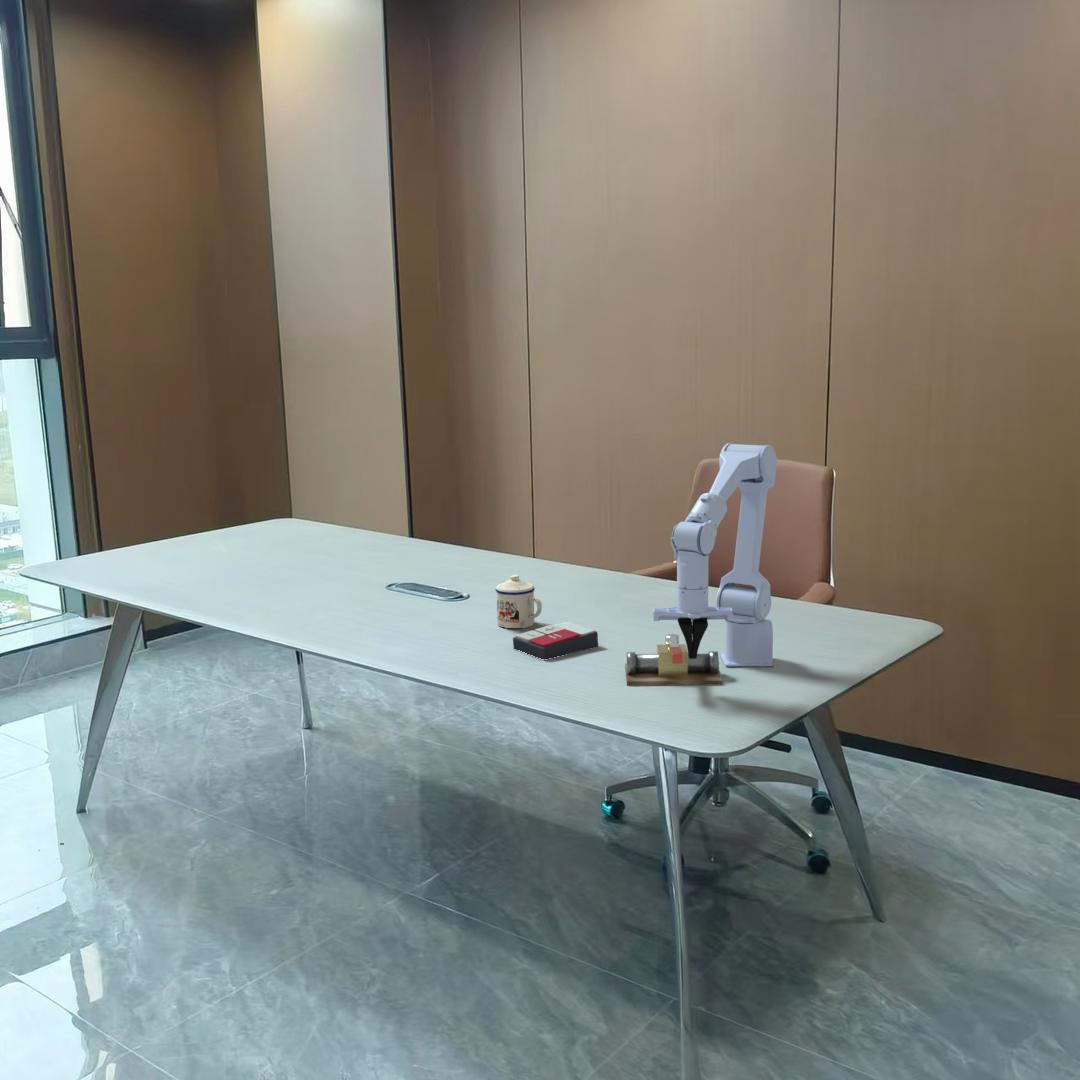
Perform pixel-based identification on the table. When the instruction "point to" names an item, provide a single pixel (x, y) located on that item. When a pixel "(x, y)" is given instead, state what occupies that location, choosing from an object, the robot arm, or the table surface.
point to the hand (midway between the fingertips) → (692, 657)
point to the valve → (664, 662)
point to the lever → (674, 648)
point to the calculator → (556, 640)
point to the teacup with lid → (516, 603)
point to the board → (672, 678)
